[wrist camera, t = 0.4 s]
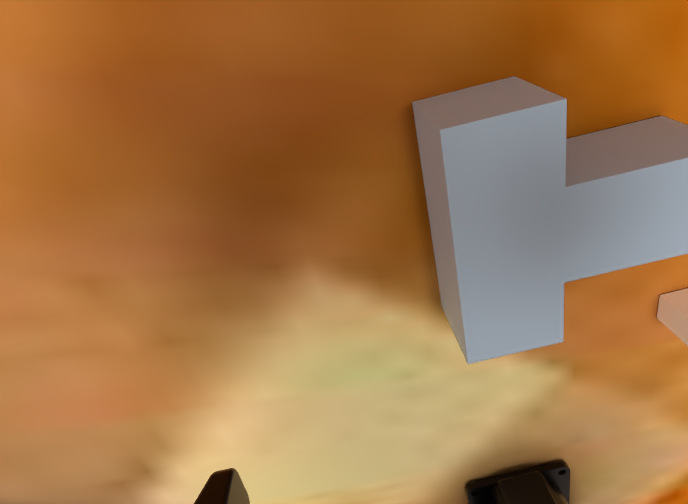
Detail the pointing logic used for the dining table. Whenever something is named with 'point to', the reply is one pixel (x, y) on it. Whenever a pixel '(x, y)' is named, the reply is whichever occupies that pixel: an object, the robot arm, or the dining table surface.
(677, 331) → the u-shaped frame
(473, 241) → the t block
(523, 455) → the dining table surface
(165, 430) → the dining table surface
